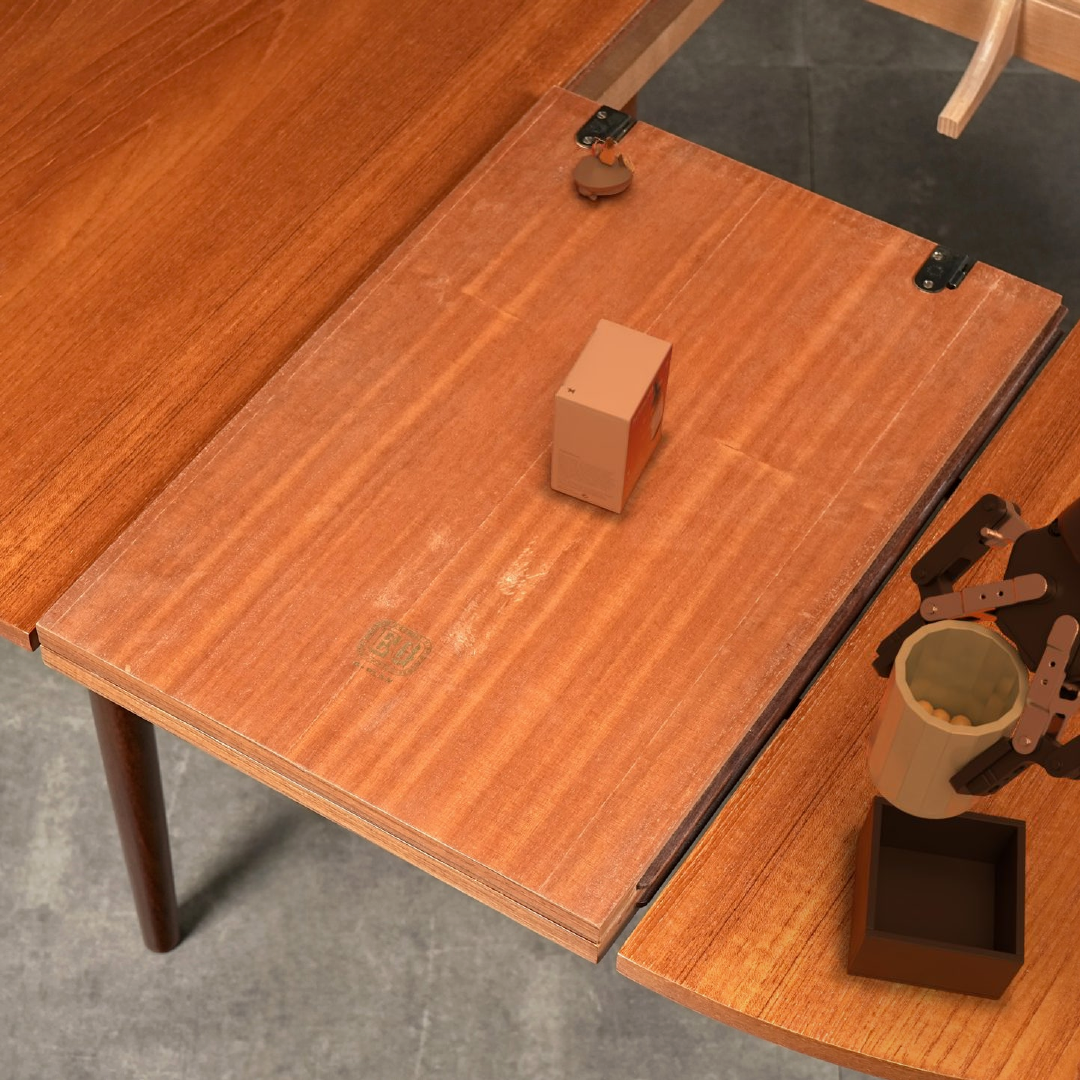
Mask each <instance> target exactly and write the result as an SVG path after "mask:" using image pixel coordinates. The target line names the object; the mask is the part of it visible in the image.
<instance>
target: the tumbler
mask: <svg viewBox="0 0 1080 1080" xmlns="http://www.w3.org/2000/svg"><path fill="white" fill-rule="evenodd" d="M1029 672H1030V671H1029V669H1028V668H1027V667H1026V665H1025V664H1024V663H1023V661H1022V660H1021V657H1020V655H1019V652H1018V649H1017V647H1016V646H1014V645H1013V644H1011V642H1009V641H1008V640H1007V639H1006V638H1005V637H1003V635H1001V633H999V632H997V631H995V630H993V629H991V628H989V627H986V626H983V625H981V624H978V622H977V623H974V622H968V621H957V620H944V621H940V622H936V623H932V624H928V625H924V626H922V627H921V628H919V629H918V630H917V631H916V632H914V633H913V634H912V635H910V636H909V637H908V638H906V639H905V640H904V642H903V644H902V646H901V648H900V650H899V652H898V654H897V656H896V658H895V661H894V664H893V667H892V670H891V674H890V677H889V678H888V680H887V683H886V686H885V688H884V692H883V695H882V698H881V701H880V704H879V707H878V711H877V713H876V716H875V720H874V723H873V725H872V728H871V731H870V734H869V738H868V741H867V748H866V757H865V758H866V759H865V760H866V767H867V772H868V775H869V777H870V779H871V782H872V783H873V785H874V787H875V788H876V789H877V791H878V792H879V793H880V795H882V797H884V798H885V799H887V800H888V801H889V802H890V803H891V804H893V805H894V806H896V807H897V808H899V809H900V810H902V811H904V812H906V813H909V814H911V815H914V816H918V817H922V818H929V819H942V818H949V817H953V816H956V815H959V814H961V813H963V812H965V811H970V809H972V808H973V807H974V806H975V805H976V804H977V803H978V802H979V801H980V800H981V798H983V796H975V795H963V794H957V793H956V792H955V790H954V789H953V787H952V786H951V784H950V783H949V780H950V778H951V777H952V776H954V775H955V774H956V773H958V772H959V771H960V770H961V769H963V768H964V767H965V766H966V765H968V764H969V763H970V762H972V761H973V760H974V759H975V758H977V757H978V756H979V755H980V754H982V753H983V752H984V751H986V750H987V749H988V748H989V747H991V746H992V745H993V744H995V743H996V742H997V741H998V740H1000V739H1001V738H1002V737H1003V736H1004V737H1010V738H1012V735H1013V734H1014V732H1015V730H1016V728H1017V726H1018V724H1019V721H1020V719H1021V717H1022V715H1023V712H1024V710H1025V708H1026V704H1027V702H1026V695H1027V692H1028V689H1029V687H1030V685H1031V683H1030V673H1029ZM920 700H924V701H927V702H929V703H930V704H931V705H932V707H933V710H935V709H938V708H940V709H943V710H946V712H947V713H948V714H949V716H950V721H951V719H952V718H953V717H955V716H957V715H963V716H966V717H968V719H969V720H970V722H971V724H972V726H962V725H953V724H950V723H948V722H946V721H944V720H941V719H939V718H937V717H935V716H932V715H931V714H930V713H929V712H927V711H926V710H925V709H924V708H923V707H922V706H921V705H920V704H919V703H918V702H917V701H920Z"/></svg>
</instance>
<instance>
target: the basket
mask: <svg viewBox="0 0 1080 1080" xmlns="http://www.w3.org/2000/svg"><path fill="white" fill-rule="evenodd" d="M1026 828H1027V820H1023V819H1018V818H1013V817H1006V816H999V815H995V814H994V815H993V814H988V813H981V812H976V811H970V810H967V811H965V812H963V813H961V814H959V815H956V816H953V817H949V818H942V819H929V818H922V817H918V816H914V815H911V814H909V813H906V812H904V811H902V810H900V809H899V808H897V807H896V806H894V805H893V804H891V803H890V802H889V801H888V800H887V799H885V798H884V797H883V796H878V795H874V797H873V799H872V802H871V804H870V807H869V809H868V812H867V814H866V815H865V819H864V821H863V824H862V826H861V829H860V831H859V833H858V836H857V838H856V849H855V863H854V864H855V865H854V876H853V877H854V878H853V880H854V881H853V889H852V891H853V892H852V904H851V905H852V906H851V918H850V931H849V946H848V960H847V972H846V973H847V975H851V976H856V977H861V978H862V977H864V978H866V979H867V978H868V979H873V980H879V981H885V982H891V983H895V984H902V985H909V986H914V987H919V988H925V989H930V990H937V991H942V992H948V993H954V994H959V995H964V996H969V997H970V996H971V997H976V998H983V999H987V1000H988V999H989V1000H994V1001H1000V999H1001V997H1003V995H1004V993H1005V992H1006V990H1007V989H1008V987H1009V986H1010V985H1011V983H1012V982H1013V980H1014V979H1015V977H1016V976H1017V975H1018V973H1019V972H1020V971H1021V969H1022V967H1023V966H1024V965H1025V949H1026V947H1025V943H1026V942H1025V941H1026V938H1025V936H1026V934H1025V932H1026V856H1027V855H1026V854H1027V853H1026V851H1027V850H1026V849H1027V848H1026V847H1027V846H1026V845H1027V829H1026Z"/></svg>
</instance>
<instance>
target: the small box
mask: <svg viewBox="0 0 1080 1080" xmlns="http://www.w3.org/2000/svg"><path fill="white" fill-rule="evenodd" d="M673 347H674V344H673V343H672V342H669V341H666V340H664V339H662V338H659V337H656V336H653V335H650V334H649V333H646V332H645V333H644V332H642V331H639V330H636V329H634V328H631V327H628V326H625V325H623V324H620V323H616V322H613V321H611V320H608V319H605V318H602V317H601V318H599V319H598V321H597V324H596V325H595V327H594V329H593V331H592V333H591V335H590V336H589V338H588V340H587V342H586V344H585V345H584V347H583V349H582V350H581V352H580V354H579V356H578V357H577V359H576V360H575V362H574V364H573V366H572V367H571V369H570V370H569V373H568V374H567V376H566V377H565V379H563V382H562V384H560V386H559V387H558V389H557V391H556V392H555V394H554V400H553V401H554V404H553V423H552V424H553V426H552V441H551V442H552V443H551V466H550V470H551V471H550V472H551V473H550V488H551V489H552V490H555V491H556V492H560V493H563V494H564V495H568V496H570V497H573V498H576V499H578V500H581V501H584V502H587V503H590V504H591V505H595V506H597V507H600V508H603V509H605V510H608V511H610V512H613V513H616V514H619V515H620V514H621V513H622V512H623V510H624V508H625V506H626V503H627V502H628V499H629V497H630V496H631V494H632V492H633V490H634V488H635V487H636V485H637V482H638V480H639V479H640V477H641V475H642V473H643V471H644V470H645V468H646V466H647V464H648V463H649V460H650V459H651V456H652V454H653V453H654V452H655V450H656V447H657V445H658V444H659V442H660V441H661V437H662V427H663V419H664V414H665V406H666V399H667V391H668V385H669V377H670V368H671V363H672V362H671V361H672V354H673Z"/></svg>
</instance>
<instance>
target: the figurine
mask: <svg viewBox="0 0 1080 1080" xmlns="http://www.w3.org/2000/svg"><path fill="white" fill-rule="evenodd" d="M593 139H597V140H595V142H594V143H592V145H591V154H589V155H586V156H583V157H581V158H580V159H579V161H578V162H577V164H576V165H575V167H574V169H573V170H572V176H573V180H574V182H575V184H576V185H577V186H578V192H579V193H580V194H581V195H583V196H586V197H588V199H589V200H591V202H596V201H597V199H598V196H613V195H616V194H619V193H621V192H623V191H624V190H626V189H627V188H628V187H629V186H630V185H631V183H632V182H633V179H634V174H637V171H635V170H636V167H635V164H634V163H633V162H632V158H631V155H630V154H628V153H627V152H626V151H625V149H623V148H622V147H621V145H619V143H618V142H617V141H615V140H614V138H613V137H611V136H608V137H607V138H606V139H605V140H603V139H601V138H599V137H597V136H594V137H593ZM599 141H600V142H603V143H598V142H599ZM617 147H618V148H619V149H620V150H621V151H623V152H624V153H625V155H623V154H622V153H620V154H619V155H618V156H617V155H616V154H615V150H614V149H616V148H617ZM628 157H629V159H628Z"/></svg>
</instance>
